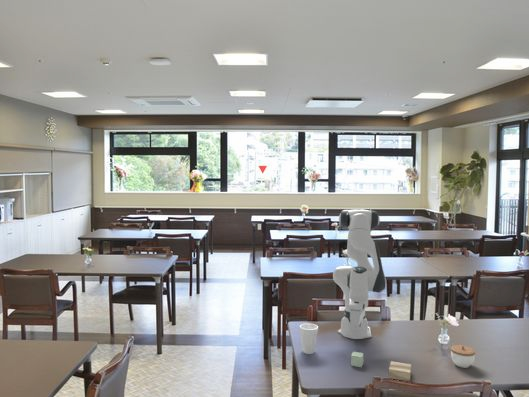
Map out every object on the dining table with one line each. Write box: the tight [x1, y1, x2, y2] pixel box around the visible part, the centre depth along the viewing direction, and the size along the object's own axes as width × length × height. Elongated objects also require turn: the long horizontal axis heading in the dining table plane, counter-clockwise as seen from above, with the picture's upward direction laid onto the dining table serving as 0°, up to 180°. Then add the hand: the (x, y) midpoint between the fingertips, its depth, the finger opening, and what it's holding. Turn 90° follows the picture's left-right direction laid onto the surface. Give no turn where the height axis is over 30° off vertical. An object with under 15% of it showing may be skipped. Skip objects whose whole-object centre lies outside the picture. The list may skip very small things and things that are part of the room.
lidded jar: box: [450, 344, 476, 369], centre depth 209 cm, size 11×11×9 cm
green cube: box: [350, 351, 364, 368], centre depth 208 cm, size 5×5×5 cm
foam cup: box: [299, 322, 319, 355], centre depth 223 cm, size 10×9×13 cm
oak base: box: [388, 360, 412, 382], centre depth 197 cm, size 9×9×4 cm
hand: (357, 329), depth 207 cm, fingers open, 8 cm apart
